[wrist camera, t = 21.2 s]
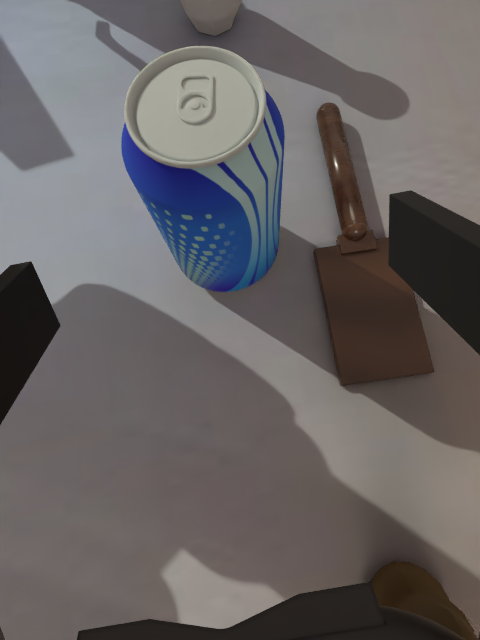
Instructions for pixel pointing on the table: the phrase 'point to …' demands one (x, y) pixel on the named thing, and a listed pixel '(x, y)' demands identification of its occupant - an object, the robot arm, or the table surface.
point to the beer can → (208, 163)
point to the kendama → (419, 596)
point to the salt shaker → (211, 14)
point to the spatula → (364, 282)
